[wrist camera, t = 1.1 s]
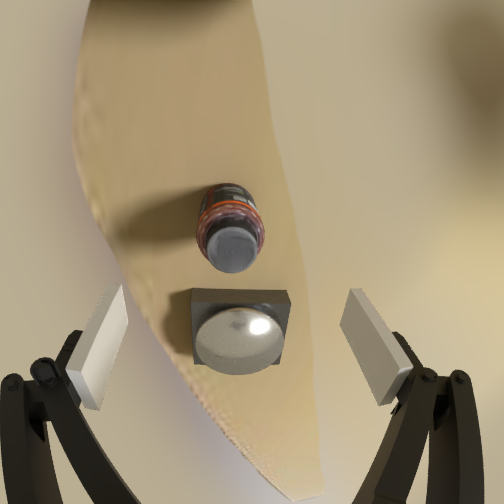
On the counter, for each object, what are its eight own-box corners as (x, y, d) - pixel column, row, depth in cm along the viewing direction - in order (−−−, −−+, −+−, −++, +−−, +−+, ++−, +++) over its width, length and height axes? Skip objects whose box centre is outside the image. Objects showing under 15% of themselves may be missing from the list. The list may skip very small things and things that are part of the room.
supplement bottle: (208, 237, 34) (203, 291, 24) (195, 188, 32) (182, 224, 22) (259, 226, 34) (275, 276, 24) (249, 176, 32) (262, 206, 22)
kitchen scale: (192, 287, 37) (189, 310, 33) (286, 289, 38) (294, 311, 34) (195, 352, 42) (193, 376, 38) (275, 353, 43) (280, 376, 39)
